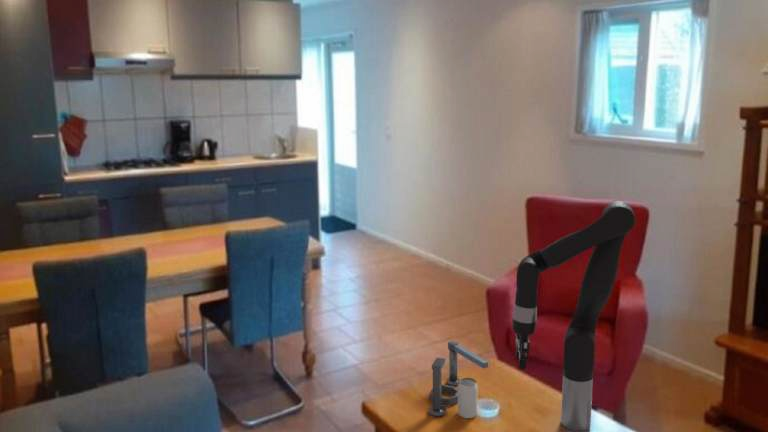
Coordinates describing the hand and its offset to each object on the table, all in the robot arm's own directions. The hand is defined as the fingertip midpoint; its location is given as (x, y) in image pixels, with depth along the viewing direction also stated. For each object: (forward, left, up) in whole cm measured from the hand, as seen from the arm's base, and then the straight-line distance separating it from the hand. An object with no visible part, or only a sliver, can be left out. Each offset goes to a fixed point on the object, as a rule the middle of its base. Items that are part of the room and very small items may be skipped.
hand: (520, 363), depth 206 cm
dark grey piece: (+27, +7, -19) cm, 34 cm away
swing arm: (+20, -10, -5) cm, 23 cm away
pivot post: (+27, -16, -19) cm, 37 cm away
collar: (+27, -4, -19) cm, 33 cm away
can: (+17, +4, -19) cm, 26 cm away
